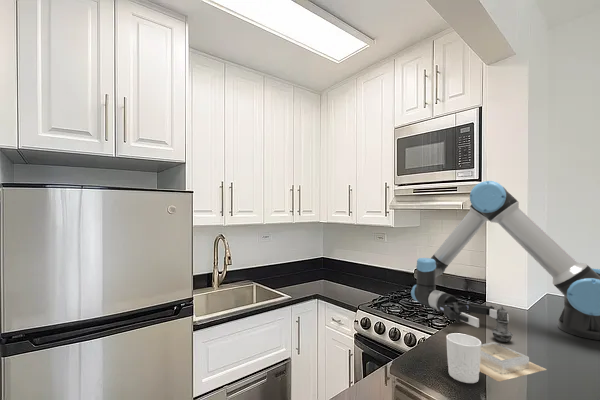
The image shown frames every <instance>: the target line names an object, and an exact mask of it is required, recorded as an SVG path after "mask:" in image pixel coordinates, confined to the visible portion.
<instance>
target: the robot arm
mask: <svg viewBox="0 0 600 400" xmlns="http://www.w3.org/2000/svg"><path fill="white" fill-rule="evenodd" d="M469 201H470V203H471V204H470V206H469V211H468V212H467V213H466V215H465V216H464V217H463V219H462V220H461V221H460V222H459V223H458V224H457V225H456V226H455V228H454V229H453V230H452V232H450V234H449V235H448V236H447V238H446V239H445V240H444V241H443V243H442V244H441V245H440V246H439V247H438V249H437V250H436V251H435V253H434V254H433V255H432V256H431V257H430V258H429V257H419V258H417V260H416V266H415V267H416V284H414V285H413V286H412V287H411V291H410V296H411V298H412V299H413V301H415V302H418V303H419V304H420V305H423V306H425V307H429V308H431V309H433V310H436V312H441V313H443V314H444V315H445V316H446V317H447V318H448V319H450V320H451V321H455V322H456V323H458V324H459V323H461V322H464V324H465V323H466V324H468V325H470V326H472V327H475V328H480V318H477V317H475V316H472V315H470V314H478V315H484V316H489V317H491V318H493V319H495V320H496V319H497V310H498V309H495V307H494V306H492V305H484V304H479V303H473V302H470V301H468V300H467V301H465V302H463V301H459V300H458V298H457V297H456V296H455V295H453V294H450V293H446V292H444V291H442V290H441V291H440V290H437V289H436V286H437V284H436V283H437V281H436V279H437V277H439V276H441V275H443V274H444V273H445V271H446V269H447V268H448V267H449V265H450V264H452V262H453V260H455V258H456V257H457V256H458V255H459V254H460V252H461V251H462V250H463V249H464V248H465V247H466V245H467V244H468V243H469V242H470V241H471V239H473V237H474V236H475V235H476V234H477V233H478V232H479V230H480V229H481V228H482V227H483V226H484V224H485V223H487V222H488V221H489V222H491V223H495V224H498V225H499V226H500V227H501V228H502V229H503V230H505V232H506V233H507V234H508V235H509V236H511V238H513V239H514V240H515V241H516V242H517V243H518V244H519V246H521V248H523V250H524V251H526V252H527V253H528V255H530V256H531V258H533V259H534V260H535V261H536V263H538V264H539V265H540V267H542V268H543V269H544V270H545V271H546V272H547V273H548V274H549V276H550V277H552V284H553V286H554V287H555V288H556V289H557V290H558V291H559V292H560V293H561V294H562V295H563V302H564V303H563V308H562V311H561V313H560V315H559V317H558V321H557V327H558V329H560V330H561V331H562V332H565V333H567V334H571V335H574V336H576V337H580V338H585V339H589V340H595V341H600V268H591V266H589V265H588V264H587V263H582V262H577V260H575V259H574V258H573V257H572V256H571V255H570V253H569V254H568V253H567V252H566V250H565V249H563V248H562V247H561V246H560V245H559V244H558V243H557V242H556V241H555V239H553V238H552V237H551V236H550V235H548V234H547V233H546V232H545V231H544V230H543V229H542V228H541V227H540V226H539V225H537V224H536V222H534V221H533V220H532V219H531V218H530V217H529V216H528V215H527V214H526V213H525V212H524V211H523V210H521V209H520V208H519V203H520V202H519V201H518V200H517V199H516V198H515V197H514V196H513V195H512V194H511V193H509V191H507V189H506V188H505V187H504V186H503V185H501V184H500V183H499V182H497V181H492V180H486V181H481V182H479V183H476V185H474V187H473V188H472V189H471V191H470V193H469ZM509 316H510V315H509V314H508V313H507V320H508V321H509V319H510V317H509ZM509 322H510V321H509ZM509 322H508V324H509Z"/></svg>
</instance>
